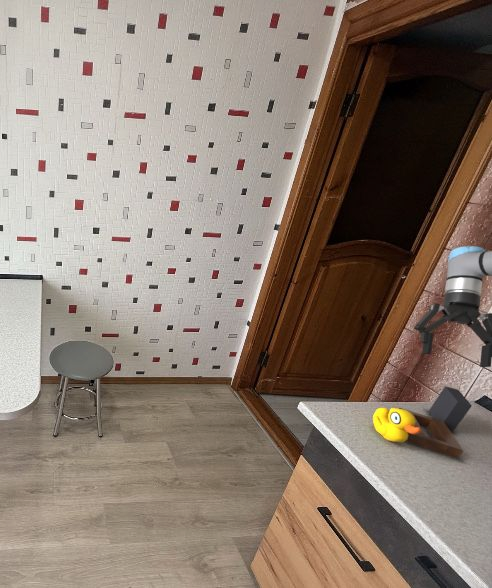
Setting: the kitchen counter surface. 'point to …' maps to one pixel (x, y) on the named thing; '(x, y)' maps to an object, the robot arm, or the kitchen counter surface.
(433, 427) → the seat base
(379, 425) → the duckling
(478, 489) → the kitchen counter surface
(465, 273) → the robot arm
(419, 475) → the kitchen counter surface
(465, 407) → the dark grey rectangular block
